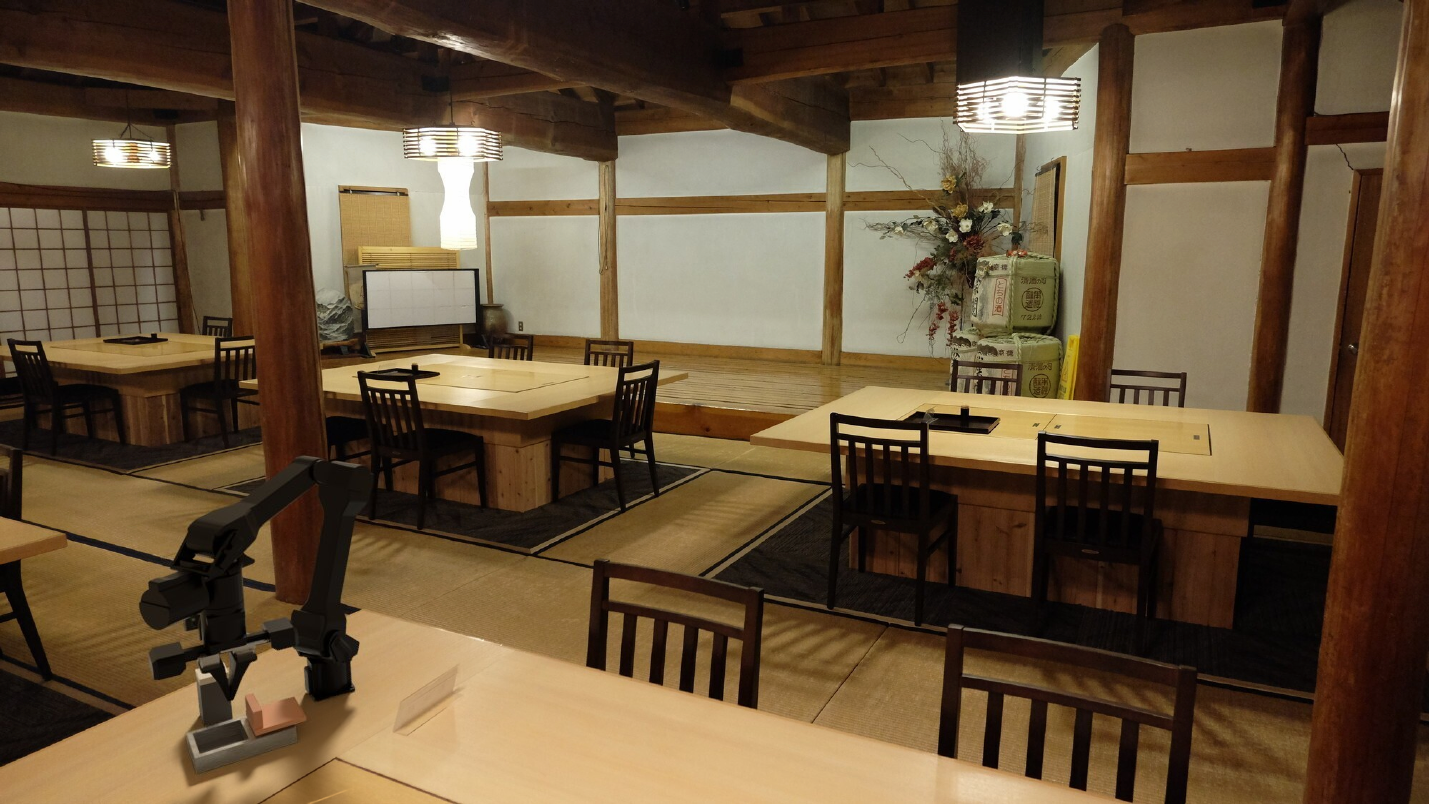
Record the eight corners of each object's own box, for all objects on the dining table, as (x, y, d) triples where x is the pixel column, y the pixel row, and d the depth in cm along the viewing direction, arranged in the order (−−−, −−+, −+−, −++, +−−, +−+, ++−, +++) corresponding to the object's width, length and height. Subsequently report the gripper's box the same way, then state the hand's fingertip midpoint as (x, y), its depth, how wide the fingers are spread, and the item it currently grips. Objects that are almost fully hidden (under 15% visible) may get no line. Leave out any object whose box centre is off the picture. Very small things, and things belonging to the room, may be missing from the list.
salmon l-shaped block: (294, 700, 138) (293, 680, 138) (306, 720, 133) (304, 699, 132) (245, 715, 134) (244, 694, 133) (255, 736, 129) (253, 714, 128)
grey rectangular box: (284, 718, 138) (283, 704, 138) (297, 742, 132) (296, 727, 132) (187, 747, 130) (186, 732, 129) (196, 774, 124) (195, 758, 123)
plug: (227, 707, 141) (223, 662, 140) (232, 718, 138) (228, 672, 136) (199, 715, 139) (195, 669, 137) (204, 726, 136) (199, 679, 134)
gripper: (278, 570, 138) (284, 661, 141) (139, 598, 126) (149, 696, 129) (296, 594, 129) (302, 689, 132) (148, 625, 118) (159, 730, 120)
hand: (230, 699), depth 129 cm, fingers closed
